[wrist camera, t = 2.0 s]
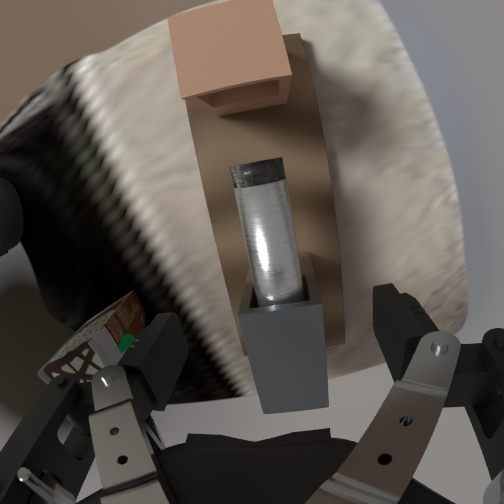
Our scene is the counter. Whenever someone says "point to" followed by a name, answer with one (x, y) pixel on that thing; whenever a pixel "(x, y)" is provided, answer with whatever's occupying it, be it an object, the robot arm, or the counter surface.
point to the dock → (298, 181)
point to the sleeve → (286, 350)
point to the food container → (98, 341)
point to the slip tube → (268, 231)
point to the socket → (231, 56)
